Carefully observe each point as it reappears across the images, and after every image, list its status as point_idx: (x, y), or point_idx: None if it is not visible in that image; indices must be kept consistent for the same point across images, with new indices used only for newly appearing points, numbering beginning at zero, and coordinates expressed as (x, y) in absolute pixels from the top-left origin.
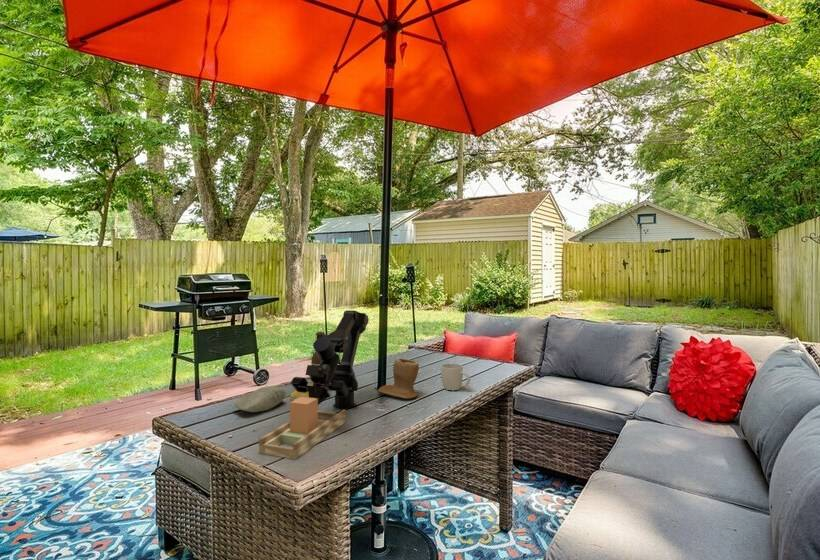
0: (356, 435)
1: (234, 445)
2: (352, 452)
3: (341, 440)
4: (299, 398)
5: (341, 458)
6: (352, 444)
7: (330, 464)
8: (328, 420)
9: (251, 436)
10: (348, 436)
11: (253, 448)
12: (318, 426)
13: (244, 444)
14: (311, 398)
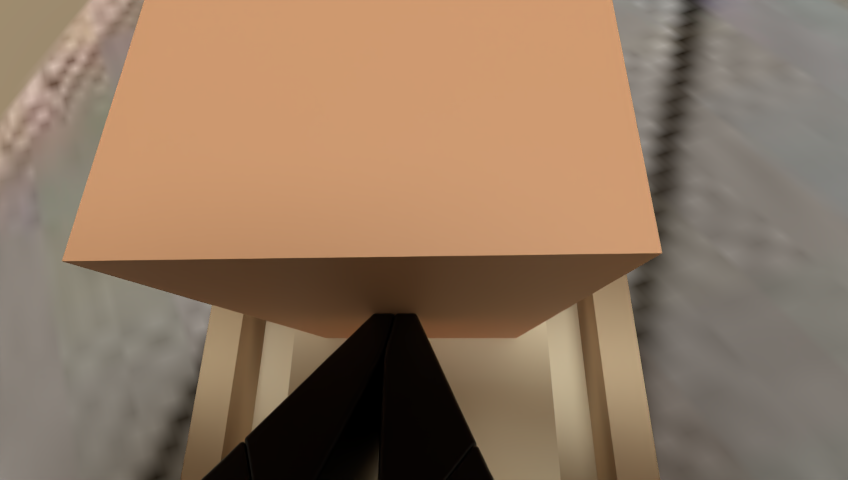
0: (34, 440)
1: (772, 20)
2: (30, 168)
3: (134, 306)
4: (567, 90)
5: (81, 90)
6: (45, 270)
7: (122, 26)
8: (214, 425)
9: (813, 154)
10: (96, 397)
11: (625, 28)
12: (325, 350)
13: (728, 48)
14: (239, 195)
